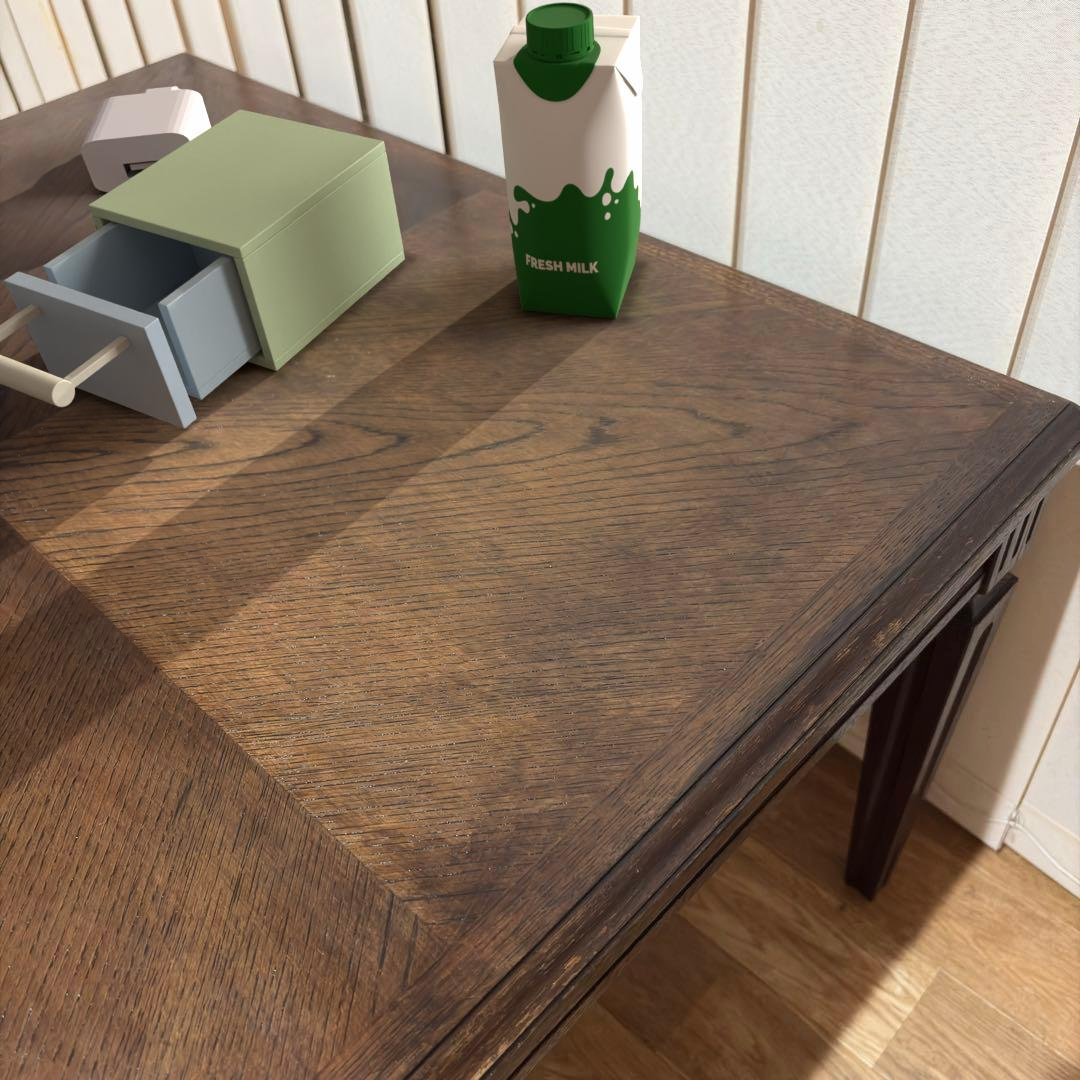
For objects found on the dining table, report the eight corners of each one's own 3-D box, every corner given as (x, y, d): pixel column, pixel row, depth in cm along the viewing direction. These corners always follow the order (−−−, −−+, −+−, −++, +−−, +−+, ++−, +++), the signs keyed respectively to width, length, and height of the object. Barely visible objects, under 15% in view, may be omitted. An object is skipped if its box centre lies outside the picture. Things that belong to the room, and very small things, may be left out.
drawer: (113, 490, 65) (63, 389, 59) (-22, 432, 70) (-80, 333, 64) (323, 310, 77) (298, 212, 71) (195, 272, 82) (163, 176, 76)
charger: (221, 108, 104) (202, 183, 93) (126, 118, 104) (97, 194, 93) (207, 59, 100) (186, 131, 90) (109, 69, 100) (76, 142, 90)
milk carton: (506, 317, 76) (476, 28, 62) (537, 249, 82) (516, -28, 68) (626, 328, 75) (624, 33, 60) (649, 258, 80) (652, -25, 66)
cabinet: (276, 371, 74) (239, 248, 67) (135, 323, 79) (87, 205, 72) (405, 259, 83) (384, 140, 76) (270, 222, 88) (239, 108, 81)
